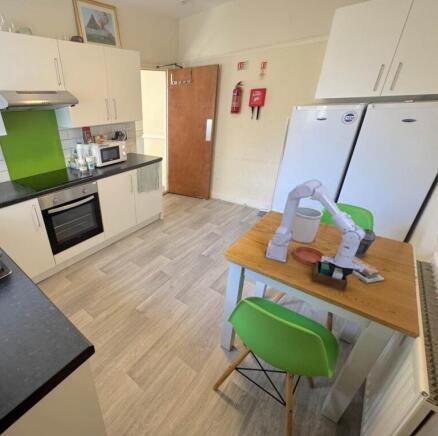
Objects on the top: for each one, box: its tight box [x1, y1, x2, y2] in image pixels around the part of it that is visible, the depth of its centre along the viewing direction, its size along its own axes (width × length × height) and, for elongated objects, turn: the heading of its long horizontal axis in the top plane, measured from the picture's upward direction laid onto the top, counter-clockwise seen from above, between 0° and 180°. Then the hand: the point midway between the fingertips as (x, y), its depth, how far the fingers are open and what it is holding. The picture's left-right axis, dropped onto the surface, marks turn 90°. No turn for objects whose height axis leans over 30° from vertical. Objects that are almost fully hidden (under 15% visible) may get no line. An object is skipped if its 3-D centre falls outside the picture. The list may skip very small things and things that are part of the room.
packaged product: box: [351, 256, 385, 284], centre depth 115 cm, size 18×5×10 cm
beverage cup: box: [355, 223, 377, 259], centre depth 122 cm, size 7×7×20 cm
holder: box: [312, 260, 349, 292], centre depth 110 cm, size 11×11×6 cm
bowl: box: [292, 245, 326, 267], centre depth 125 cm, size 14×14×3 cm
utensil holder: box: [291, 205, 324, 244], centre depth 140 cm, size 15×15×18 cm
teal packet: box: [319, 263, 330, 276], centre depth 112 cm, size 3×5×5 cm
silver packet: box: [332, 268, 343, 279], centre depth 107 cm, size 3×5×5 cm
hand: (335, 278), depth 107 cm, fingers closed on silver packet, 3 cm apart
